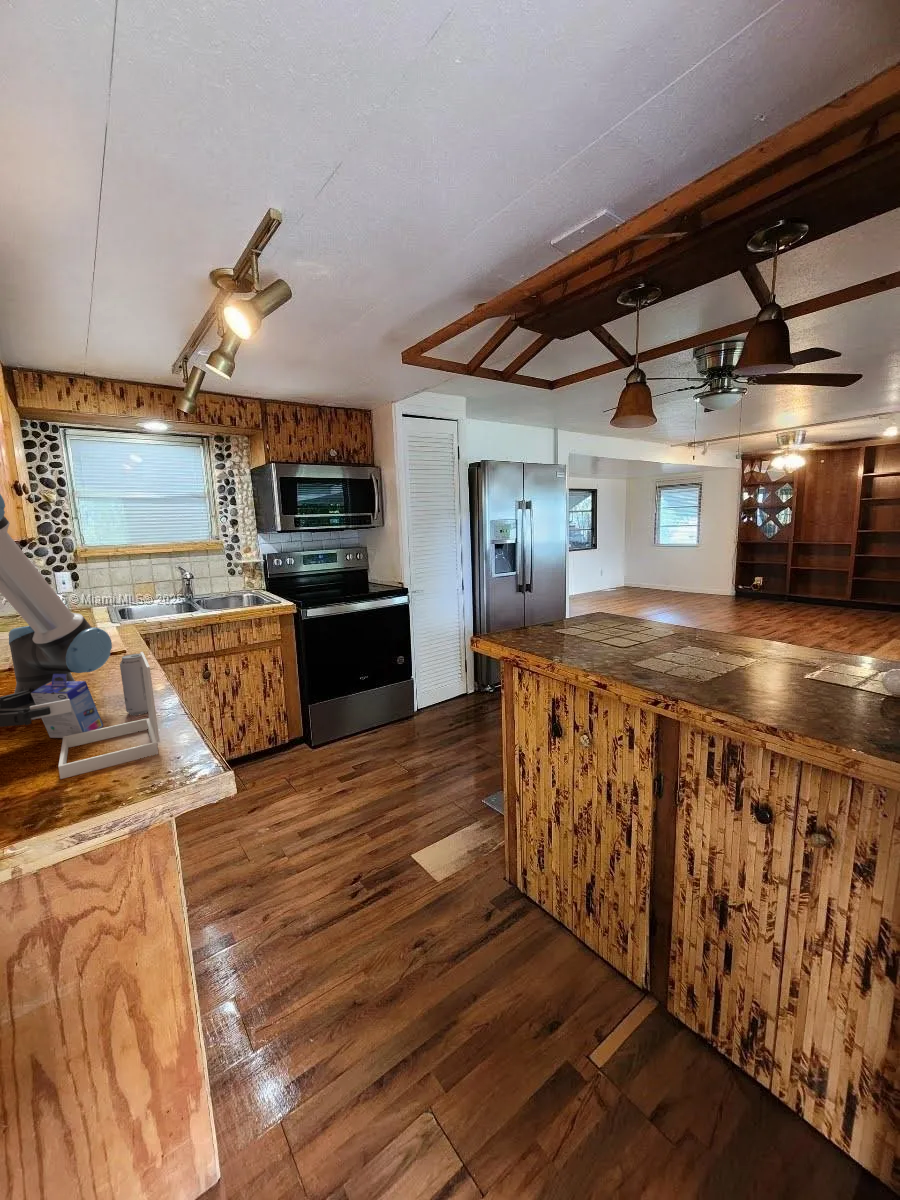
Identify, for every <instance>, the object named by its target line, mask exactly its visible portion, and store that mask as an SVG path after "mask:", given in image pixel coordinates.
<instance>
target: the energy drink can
mask: <svg viewBox="0 0 900 1200" xmlns="http://www.w3.org/2000/svg"><path fill="white" fill-rule="evenodd" d="M146 660H147V662H148V663H149V661H148V659H147V658H146ZM119 663H120V664H119V668H120V674H121V675H120V676H121V683H122V689H123V696H124V697H123V698H124V705H125V712H126V713H128V714H129V715H130V716H140V715H139V714H141V715H145V714H148V713H147V712H148V707H147V699H146V692H145V684H144V677H143V669H142V661H141V654H140V653H131V654H127V655H126V654H125V655H123V656H121V661H120V662H119ZM144 713H145V714H144Z"/></svg>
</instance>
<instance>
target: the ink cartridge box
mask: <svg viewBox="0 0 900 1200" xmlns="http://www.w3.org/2000/svg"><path fill="white" fill-rule="evenodd" d="M58 677H61V678H63V679H64V680H63V681H55V678H58ZM31 695H32V697H33V700H34V702H35V704H36V705H39V704H44V703H50V702H55V701H61V700H66V699H70V705H71V712H68V713H63V714H58V715H53V716H48V717H43V718H41V720H42V722H43V725H44V727H45V729H46V731H47V734H48V736H49V738H53V739H56V738H57V739H63V737H64V736H69V735H73V734H78V733H82V732H87V731H91V730H96V729H101V728H103V727H104V722H103V721H102V718H101V716H100V713H99V711H98V708H97V706H96V704H95V701H94V699H93V696H92V694H91V691H90V688H89V686H88V684H87V681H85V680H78V681H76V680H75V681H67V674H53V677H52V681H51V682H49V683H47V684H45V685H43V686H41V687H39V688H38V689H36V690H35V691H33V692H31Z"/></svg>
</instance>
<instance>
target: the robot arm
mask: <svg viewBox="0 0 900 1200" xmlns="http://www.w3.org/2000/svg"><path fill="white" fill-rule="evenodd" d="M5 507H6V503H5V500H4V497H3V496H2V494H1V493H0V594H1V595H2V597H3V598H4V599H5V600H6V601H7V602H8V603H9V604H10V605H11V607H12V608H13V609H14V610H15V611H16V612H17V614H19V616H20V617H21V618H22V619H23V620H24V621H25V622H26V624H27V625H26V626H20V627H15V628H12V629H10V631H9V632H8V645H9V649H10V653H11V660H12V665H13V666H12V667H13V670H14V676H15V683H16V685H15V688H14V693H11V694H7V695H3V696H0V728H3V727H11V726H12V727H13V726H14V727H15V726H23V725H24V726H30V725H31V724H32V720H36V719H42V718H43V717H48V716H53V715H58V714H63V713H68V712H71V705H70V699H66V700H61V701H55V702H50V703H44V704H39V705H36V704H35V702H34V700H33V697H32V695H31V692H33V691H35V690H36V689H38V688H39V687H41V686H43V685H45V684H47V683H49V682H51V681H52V677H53V674H67V681H76V680H75V678H74V677H73V675H72V673H73V674H81V673H91V672H94V671H97V670H98V669H100V668H101V667H103V666H104V665H105V664H106V663H107V662H108V660H109V658H110V656H111V651H112V649H113V647H112V646H113V644H112V643H113V642H112V638H111V637H110V635H109V634H108V632H107V631H105V630H103V629H101V628H99V627H92V626H91V624H90V623H89V622H88V620H87V619H86V618H85V617H84V616H83V614H81V613H78V612H72V611H71V610H70V609H69V608H68V607H67V605H66V604H65V603H64V602H63V600H62V599H61V598H60V596H59V595H58V594H57V593H56V591H55V590H54V589H53V588H52V587H51V585H50V584H49V583H48V582H47V580H46V579H45V577H43V575H42V573H40V572H39V570H38V569H37V568H36V566H35V565H34V564H33V563H32V562H31V560H30V559H29V558H28V557H27V555H26V554H25V552H23V550H22V549H21V547H19V545H18V543H16V542H15V540H14V538H13V537H11V535H10V533H8V529H9V527H10V523H11V522H10V521H9V520H8V519H7V517H6V516H5V513H6V511H5ZM63 680H64V679H63V678H61V677H58V678H55V681H63Z"/></svg>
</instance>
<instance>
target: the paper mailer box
mask: <svg viewBox="0 0 900 1200" xmlns="http://www.w3.org/2000/svg"><path fill="white" fill-rule="evenodd" d="M139 654H141V661H142V669H143V677H144V684H145V692H146V699H147V707H148V713H147V714H148V718H143V719H139V720H137V719H136V720H134V721H129V722H124V723H119V724H115V725H110V726H106V727H101V728H99V729H96V730H91V731H87V732H82V733H78V734H73V735H69V736H64V737H63V738H62V743H61V748H60V754H59V761H58V773H59V779H60V780H62V779H66V778H70V777H75V776H78V775H82V774H85V773H90V772H94V771H98V770H102V769H105V768H109V767H114V766H118V765H120V764H125V763H127V762H129V763H130V762H132V761H136V760H140V758H141V759H145V758H148V757H147V756H149V757H152V756H156V755H159V749H158V743H160V735H159V726H158V719H157V711H156V705H155V697H154V688H153V681H152V675H151V674H152V673H151V672H152V671H151V666H150V664H149V661H148V662H147V660H148V659H147V658H146V655H145V653H144V651H140V652H139ZM146 659H147V660H146ZM147 729H148V730H147ZM138 731H139V732H142V731H148V736H149V740H150V741H151V742H150V743H145V744H141V745H138V746H137V745H136V746H134V747H133V746H132V747H127V748H124V749H121V750H116V751H112V752H108V753H104V754H100V755H97V756H92V757H88V758H84V759H79V760H75V761H72V762H68V761H67V760H68V754H69V748H72V747H77V746H80V745H81V746H82V745H86V744H90V743H94V742H98V741H99V742H100V741H104V740H109V739H112V738H117V737H122V736H126V735H130V734H134V733H138ZM155 754H156V755H155ZM151 755H152V756H151ZM144 757H145V758H144ZM67 762H68V763H67Z"/></svg>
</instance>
